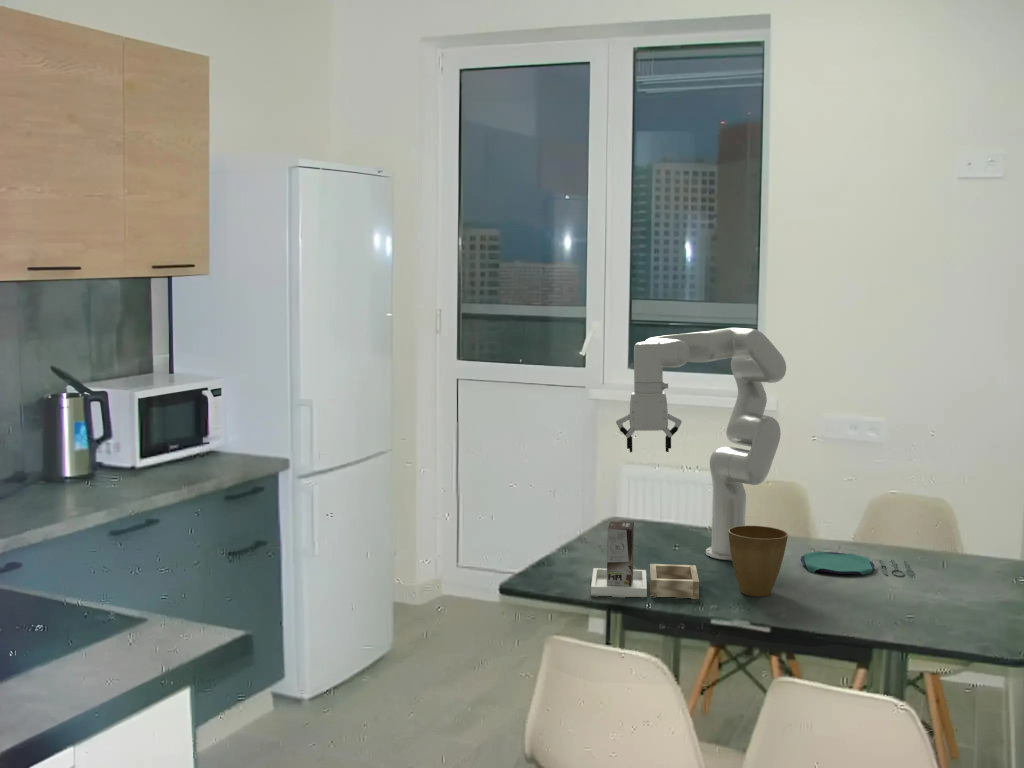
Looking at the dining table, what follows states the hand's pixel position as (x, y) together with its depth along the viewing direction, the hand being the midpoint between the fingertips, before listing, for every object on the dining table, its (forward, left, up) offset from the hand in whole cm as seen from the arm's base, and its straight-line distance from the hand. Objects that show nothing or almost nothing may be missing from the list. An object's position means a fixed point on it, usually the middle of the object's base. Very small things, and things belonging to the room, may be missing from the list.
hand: (649, 451), depth 287 cm
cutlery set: (-58, -14, -35) cm, 69 cm away
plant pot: (-28, +13, -34) cm, 46 cm away
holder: (-7, +13, -34) cm, 37 cm away
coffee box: (+7, +13, -34) cm, 37 cm away
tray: (+7, +13, -34) cm, 37 cm away
